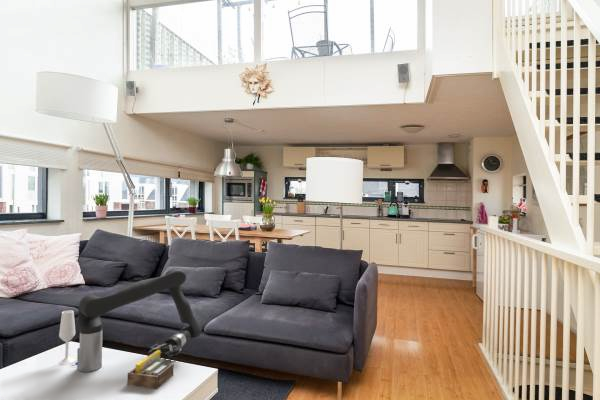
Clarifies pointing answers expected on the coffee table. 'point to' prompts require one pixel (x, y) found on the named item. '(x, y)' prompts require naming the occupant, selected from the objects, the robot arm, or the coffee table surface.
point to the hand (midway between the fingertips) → (156, 355)
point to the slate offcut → (159, 370)
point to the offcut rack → (150, 377)
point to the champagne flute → (67, 332)
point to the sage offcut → (152, 367)
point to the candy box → (148, 361)
